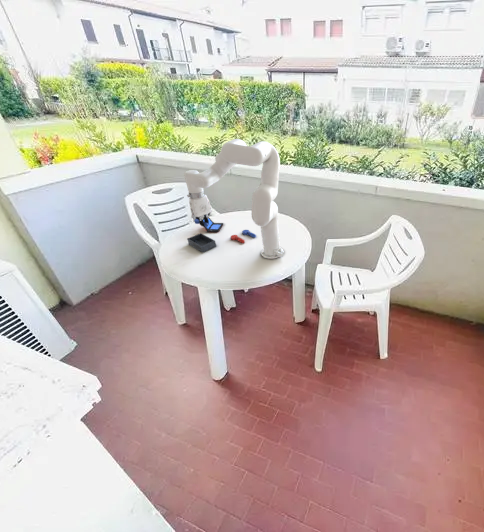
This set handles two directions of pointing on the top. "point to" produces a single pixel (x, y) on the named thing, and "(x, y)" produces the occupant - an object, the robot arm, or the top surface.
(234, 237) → the red spoon
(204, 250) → the bin
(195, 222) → the blue spoon
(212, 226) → the handheld console
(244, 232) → the blue spoon
